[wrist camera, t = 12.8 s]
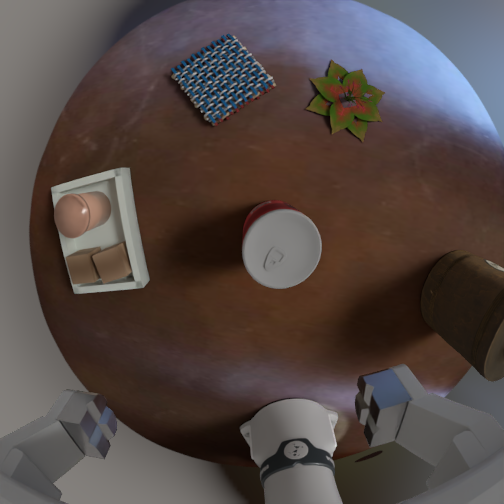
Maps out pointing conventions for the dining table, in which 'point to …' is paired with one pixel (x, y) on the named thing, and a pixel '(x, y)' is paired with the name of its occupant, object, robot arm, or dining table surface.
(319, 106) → the lily flower
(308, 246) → the canned food
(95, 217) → the pink lidded jar
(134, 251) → the tray
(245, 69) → the woven mat
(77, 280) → the block
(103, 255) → the block
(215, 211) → the dining table surface
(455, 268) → the wooden container
